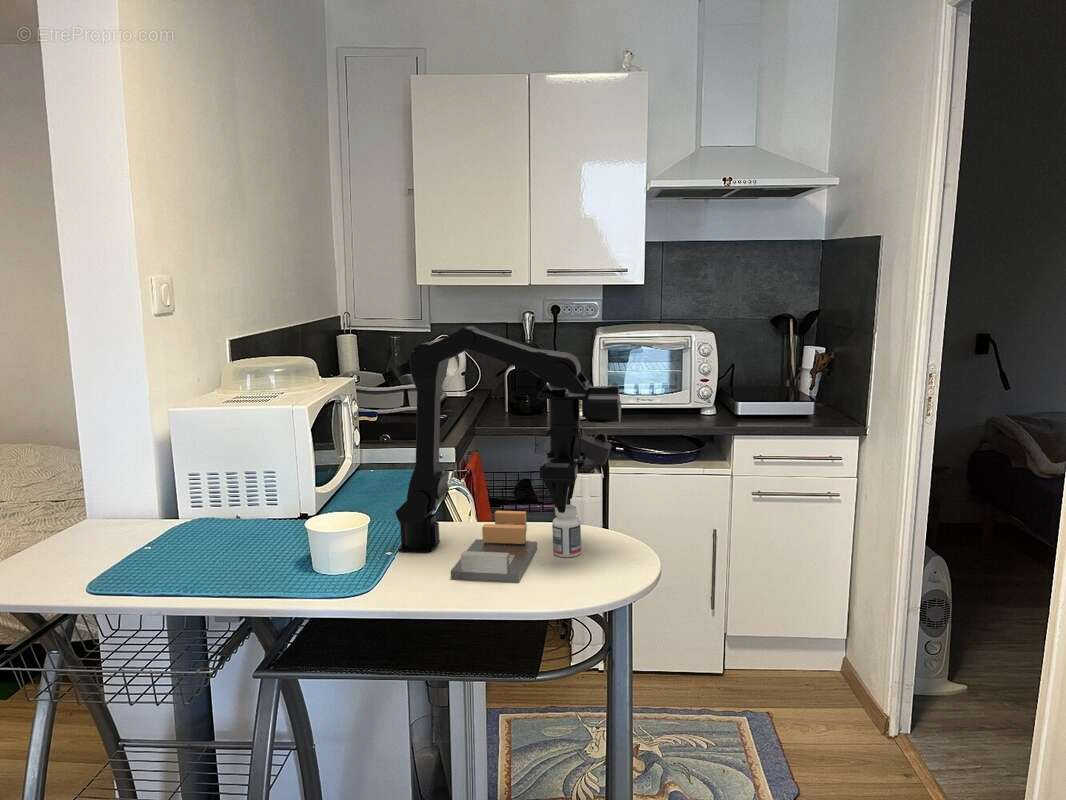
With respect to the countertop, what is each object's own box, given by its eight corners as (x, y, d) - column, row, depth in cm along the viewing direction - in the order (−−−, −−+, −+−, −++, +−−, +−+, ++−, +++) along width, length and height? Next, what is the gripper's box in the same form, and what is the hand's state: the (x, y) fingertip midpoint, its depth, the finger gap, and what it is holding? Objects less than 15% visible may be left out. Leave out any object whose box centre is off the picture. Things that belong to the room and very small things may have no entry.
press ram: (482, 542, 150) (481, 522, 150) (492, 529, 158) (491, 510, 157) (524, 543, 149) (523, 523, 148) (531, 531, 156) (531, 511, 155)
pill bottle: (581, 548, 151) (581, 503, 149) (580, 558, 146) (579, 511, 144) (554, 548, 151) (552, 503, 150) (551, 557, 146) (550, 511, 145)
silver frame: (450, 579, 137) (449, 554, 136) (476, 546, 153) (475, 524, 153) (518, 582, 135) (518, 557, 134) (537, 549, 151) (536, 526, 150)
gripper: (603, 433, 134) (603, 522, 137) (613, 414, 152) (613, 493, 155) (538, 432, 136) (540, 520, 139) (555, 413, 154) (557, 491, 157)
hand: (565, 505), depth 147 cm, fingers open, 9 cm apart
